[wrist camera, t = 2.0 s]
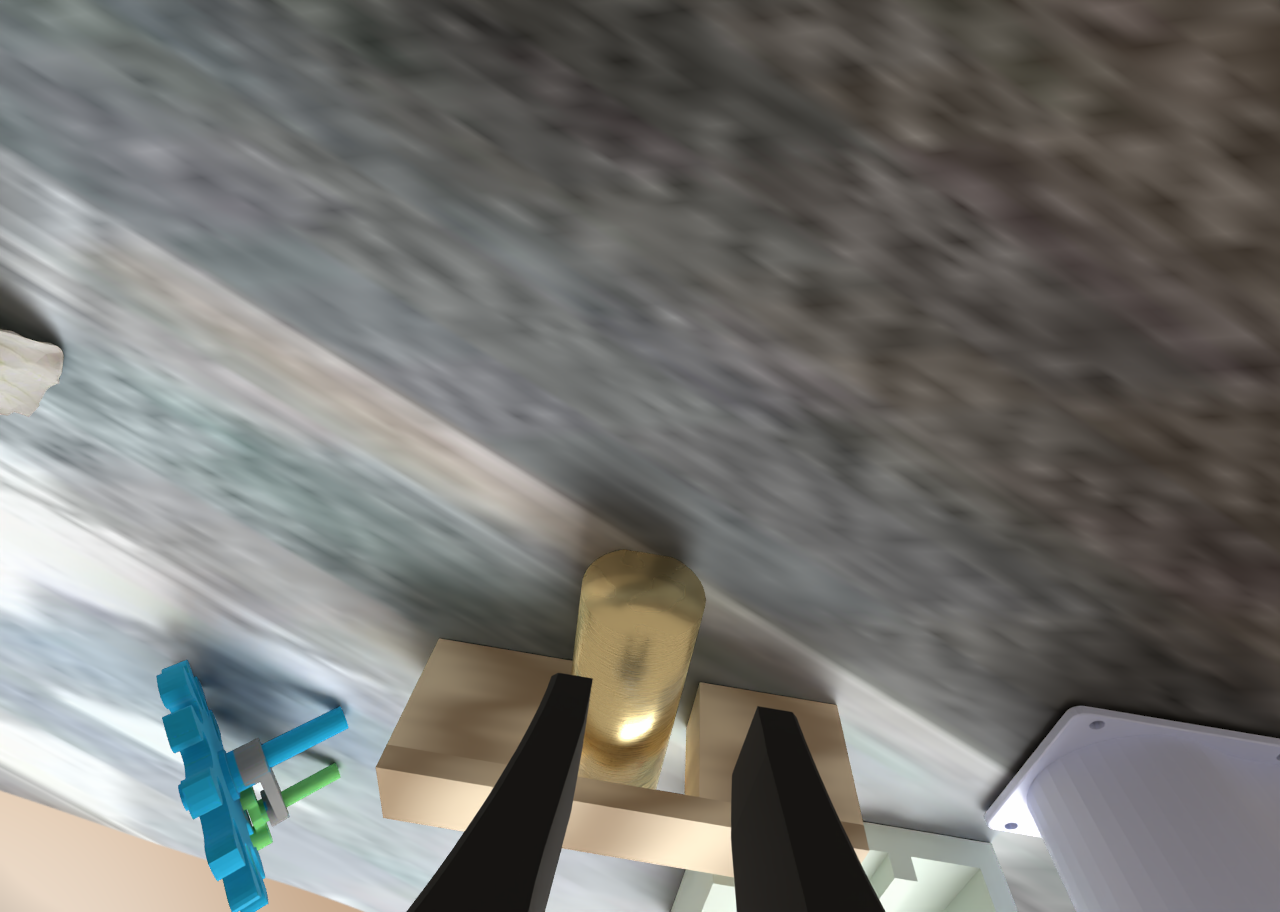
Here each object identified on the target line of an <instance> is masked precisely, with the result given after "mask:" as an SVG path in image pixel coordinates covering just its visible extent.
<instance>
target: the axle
mask: <svg viewBox="0 0 1280 912" xmlns="http://www.w3.org/2000/svg"><path fill="white" fill-rule="evenodd" d="M705 603H706V598H705V592H704V589H703V586H702V584H701V582H700V580H699V579H698V577H697V576H696V575H695V574H694V573H693V572H692V571H691V570H690V569H689V568H688V567H687V566H686V565H684V564H683V563H681V562H680V561H678V560H676V559H675V558H672V557H667V556H661V555H655V554H649V553H643V552H637V551H631V550H625V549H624V550H618V551H614V552H611V553H608V554H606V555H604V556H602V557H600V558H598V559H597V560H596V561H594V562H593V563H592V564H591V565H590V566H589V568H588V569H587V570H586V572H585V574H584V577H583V580H582V588H581V596H580V604H579V612H578V621H577V629H576V637H575V646H574V654H573V662H572V671H571V675H576V676H581V677H587V678H593V681H592V688H591V695H590V701H589V708H588V715H587V721H586V728H585V735H584V742H583V748H582V754H581V760H580V765H579V771H578V777H583V778H589V779H595V780H600V781H606V782H612V783H618V784H624V785H630V786H636V787H642V788H648V789H654V790H656V787H657V783H658V780H659V776H660V772H661V769H662V765H663V761H664V757H665V754H666V750H667V746H668V742H669V739H670V735H671V731H672V728H673V724H674V720H675V716H676V713H677V709H678V705H679V702H680V698H681V694H682V690H683V687H684V683H685V679H686V676H687V672H688V668H689V664H690V661H691V657H692V653H693V650H694V646H695V642H696V638H697V635H698V631H699V627H700V623H701V620H702V616H703V612H704V608H705Z"/></svg>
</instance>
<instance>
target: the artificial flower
mask: <svg viewBox="0 0 1280 912" xmlns="http://www.w3.org/2000/svg"><path fill="white" fill-rule="evenodd" d="M63 358H64V355H63V352H62V349H60V348H59V347H58V346H56V345H54V344H51V343H47V342H39V341H34V340H30V339H27V338H25V337H23V336H21V335H19V334H17V333H15V332H13V331H8V330H3V329H0V415H6V416H8V415H10V414H11V413H13V412H16V413H19V414H22V415H25V416H27V417H29V416H30V415H31V414H32V413H33V412H34V411H35V410H36V409H37V408H38V406H39V402H40V401H41V399H42V397H43V395H44V393H45V392H46V390H47V389H48V388H49V387H51V386H53V385H55V384H59V377H60V376H61V374H62V368H63Z"/></svg>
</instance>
